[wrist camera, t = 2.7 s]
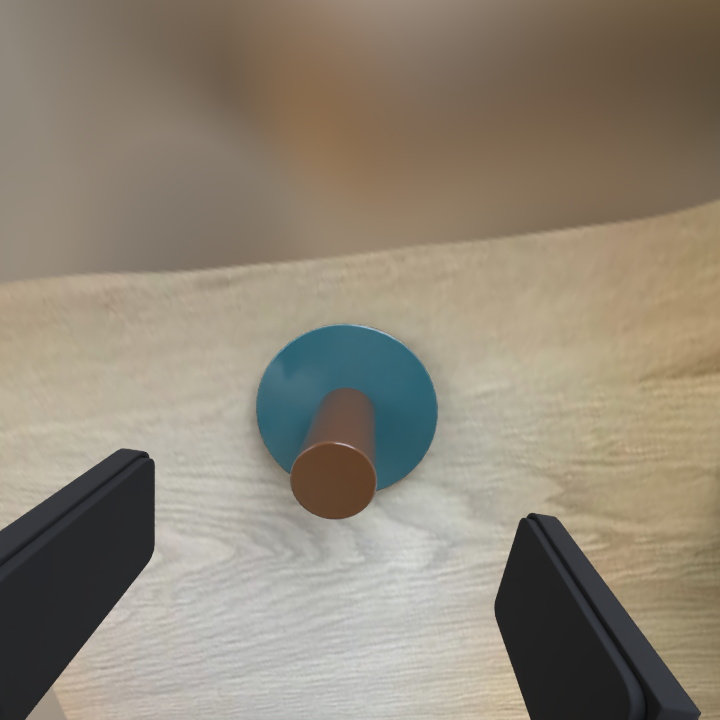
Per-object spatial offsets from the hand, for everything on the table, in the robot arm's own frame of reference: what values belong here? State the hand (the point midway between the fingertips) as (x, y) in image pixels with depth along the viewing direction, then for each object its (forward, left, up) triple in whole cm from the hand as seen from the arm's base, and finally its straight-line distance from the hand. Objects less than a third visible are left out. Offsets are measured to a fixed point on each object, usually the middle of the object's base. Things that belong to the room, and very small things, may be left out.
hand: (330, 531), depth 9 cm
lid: (0, 0, -8) cm, 8 cm away
